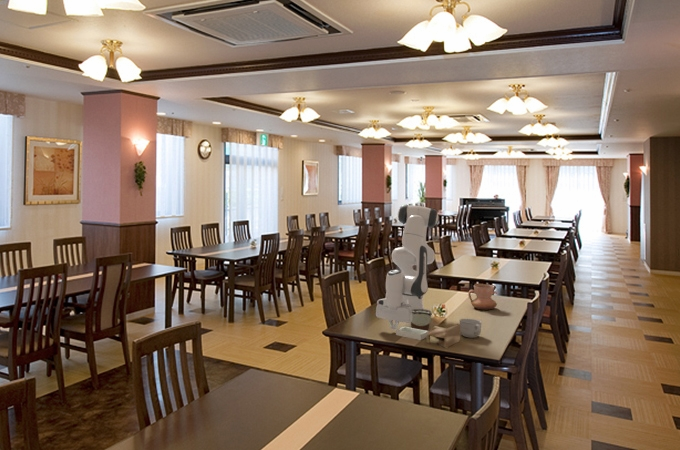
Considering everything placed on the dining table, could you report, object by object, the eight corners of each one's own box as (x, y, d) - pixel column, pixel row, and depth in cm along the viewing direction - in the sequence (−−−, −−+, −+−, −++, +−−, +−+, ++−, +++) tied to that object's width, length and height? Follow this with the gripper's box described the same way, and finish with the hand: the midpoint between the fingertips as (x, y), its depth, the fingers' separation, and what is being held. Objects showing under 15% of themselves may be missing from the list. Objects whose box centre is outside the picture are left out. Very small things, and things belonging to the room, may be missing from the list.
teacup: (456, 333, 261) (456, 317, 261) (477, 332, 262) (477, 317, 262) (465, 341, 248) (465, 325, 247) (487, 341, 249) (487, 324, 248)
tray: (396, 335, 258) (396, 329, 258) (404, 332, 265) (404, 326, 264) (420, 340, 250) (420, 334, 250) (428, 337, 256) (428, 331, 256)
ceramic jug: (500, 307, 317) (500, 285, 316) (494, 312, 305) (495, 288, 304) (471, 304, 326) (471, 282, 326) (465, 309, 314) (465, 286, 313)
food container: (433, 328, 271) (434, 309, 270) (431, 331, 265) (432, 312, 264) (410, 326, 275) (410, 307, 274) (408, 329, 269) (408, 310, 268)
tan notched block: (421, 342, 246) (421, 325, 246) (434, 335, 257) (435, 319, 257) (447, 347, 238) (447, 330, 237) (460, 340, 249) (460, 324, 248)
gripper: (415, 303, 259) (414, 330, 260) (381, 298, 271) (380, 324, 272) (408, 306, 254) (408, 333, 255) (374, 300, 266) (374, 326, 267)
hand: (393, 328), depth 263 cm, fingers closed
